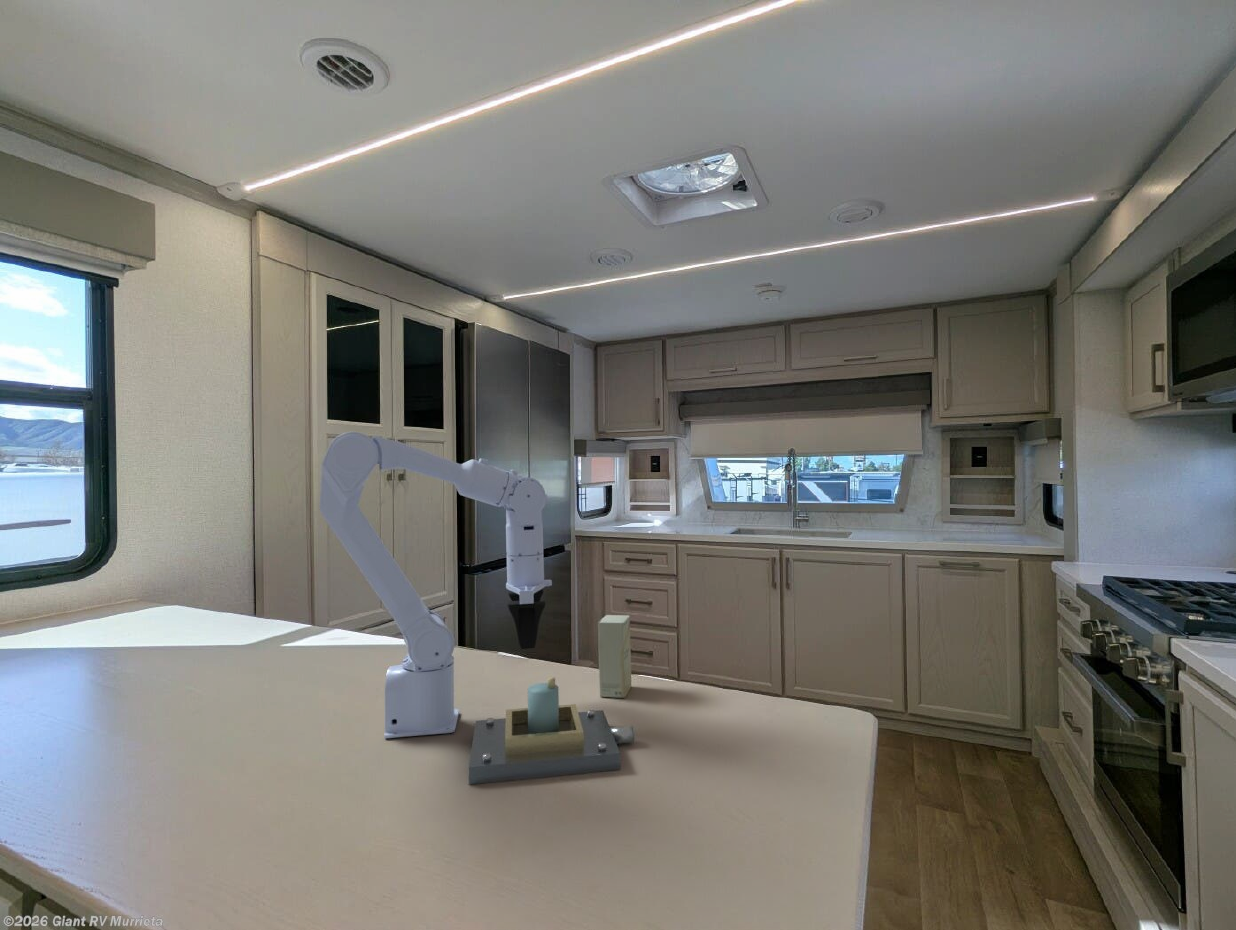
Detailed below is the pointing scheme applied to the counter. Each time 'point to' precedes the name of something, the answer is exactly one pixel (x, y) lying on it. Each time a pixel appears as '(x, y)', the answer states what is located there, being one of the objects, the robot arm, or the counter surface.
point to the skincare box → (614, 656)
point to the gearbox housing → (545, 746)
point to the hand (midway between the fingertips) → (527, 641)
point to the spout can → (543, 707)
